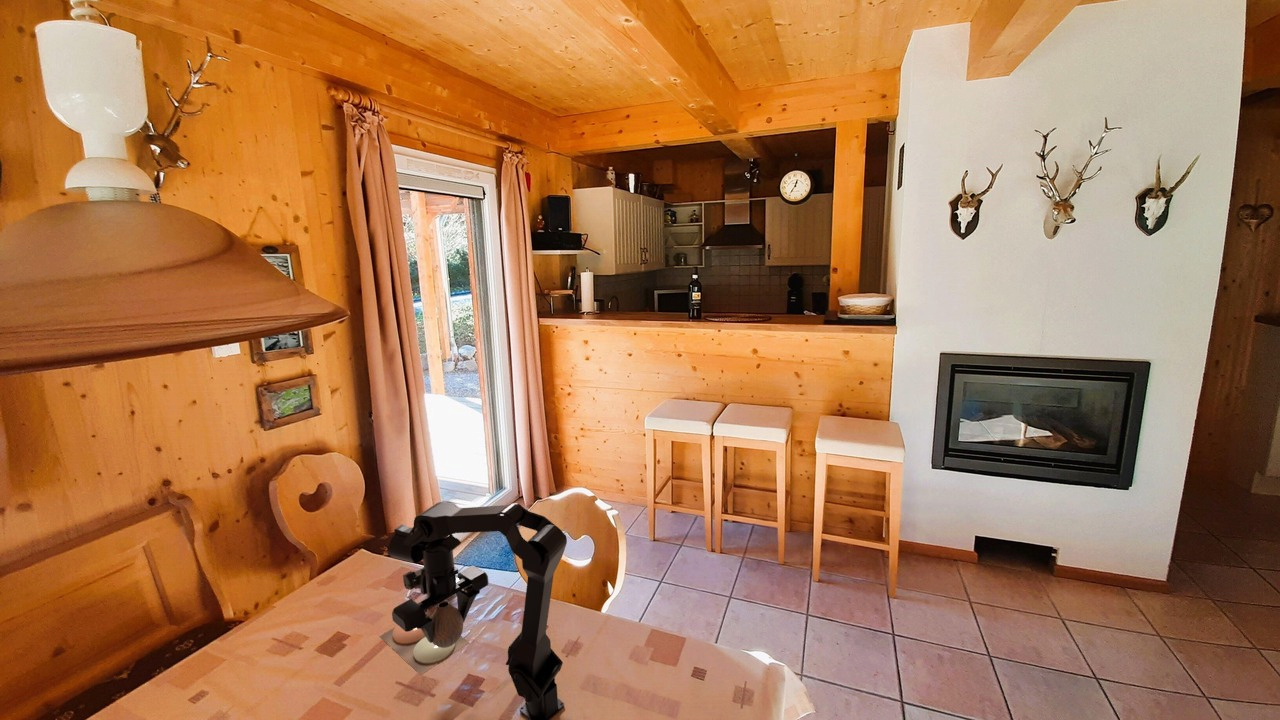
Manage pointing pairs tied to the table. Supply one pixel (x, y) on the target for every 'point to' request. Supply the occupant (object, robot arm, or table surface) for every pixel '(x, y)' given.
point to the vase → (446, 625)
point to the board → (407, 649)
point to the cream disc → (430, 652)
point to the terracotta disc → (407, 635)
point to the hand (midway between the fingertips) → (446, 631)
